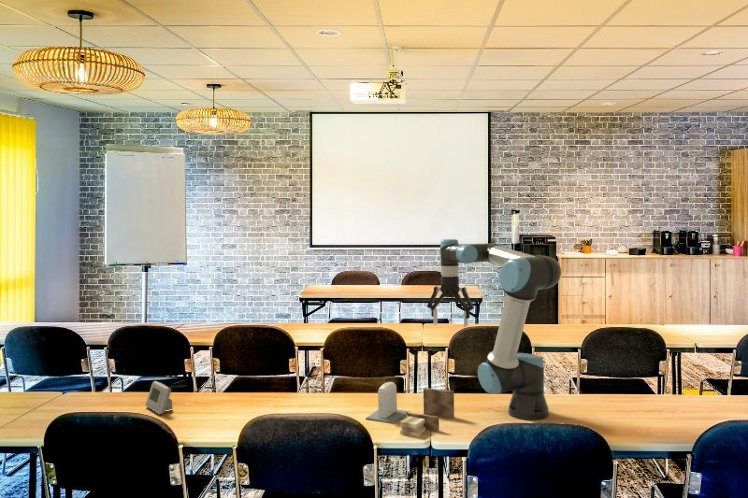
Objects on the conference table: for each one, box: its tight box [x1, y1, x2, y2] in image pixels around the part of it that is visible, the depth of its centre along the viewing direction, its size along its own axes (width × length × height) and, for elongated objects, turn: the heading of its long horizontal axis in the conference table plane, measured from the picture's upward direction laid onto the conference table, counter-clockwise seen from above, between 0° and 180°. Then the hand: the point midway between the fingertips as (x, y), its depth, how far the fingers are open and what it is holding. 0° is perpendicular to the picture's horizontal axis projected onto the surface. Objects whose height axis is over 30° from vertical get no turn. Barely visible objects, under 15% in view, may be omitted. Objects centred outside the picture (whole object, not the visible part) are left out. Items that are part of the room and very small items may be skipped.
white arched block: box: [377, 381, 398, 418], centre depth 238 cm, size 10×4×12 cm, turn 153°
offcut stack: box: [399, 416, 427, 437], centre depth 219 cm, size 7×7×4 cm
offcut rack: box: [406, 387, 455, 432], centre depth 230 cm, size 12×17×10 cm
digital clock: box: [145, 380, 174, 415], centre depth 251 cm, size 16×9×11 cm, turn 28°
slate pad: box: [365, 409, 410, 424], centre depth 238 cm, size 12×14×1 cm
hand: (450, 325), depth 260 cm, fingers open, 13 cm apart
